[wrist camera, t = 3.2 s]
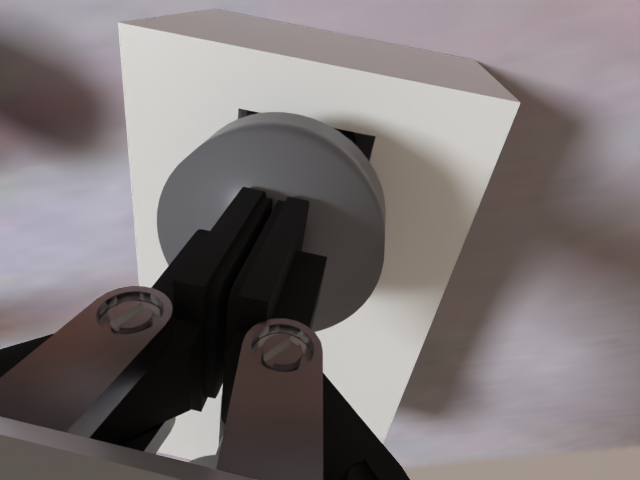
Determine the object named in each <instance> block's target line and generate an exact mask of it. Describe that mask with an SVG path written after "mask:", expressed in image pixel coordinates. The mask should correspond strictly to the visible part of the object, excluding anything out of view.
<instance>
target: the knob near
mask: <svg viewBox="0 0 640 480" xmlns="http://www.w3.org/2000/svg"><path fill="white" fill-rule="evenodd" d="M242 187H247V188H252V189H257V190H261V191H265V193H266V197H267V198H271V199H272V211H273V209H274V207H275V205H276V203H277V201H278V200H281V201H285V200H286V198H287V197H288V196H289V197H294V198H298V199H303V200H308V201H309V210H308V216H307V222H306V228H305V234H304V240H303V246H302V251H303V252H308V253H313V254H317V255H322V256H326V257H327V262H326V267H325V272H324V277H323V282H322V286H321V291H320V296H319V300H318V305H317V309H316V313H315V317H314V322H313V326H312V331H314V332H317V331H321V330H324V329H326V328H329V327H332V326H334V325H336V324H338V323H340V322H342V321H344V320H345V319H347V318H348V317H350V316H351V315H353V314H354V313H355V312H356V311H357V310H358V309H359V308H360V307H362V306H363V305H364V303H365V302H366V301H367V300H368V298H369V297H370V296H371V294H372V292H373V291H374V289H375V287H376V285H377V283H378V281H379V278H380V275H381V272H382V268H383V263H384V250H385V220H386V208H385V198H384V194H383V190H382V186H381V184H380V181H379V179H378V176H377V174H376V172H375V170H374V169H373V167H372V165H371V163H370V162H369V160H368V159H367V158H366V157H365V155H364V154H363V153H362V151H361V150H360V149H359V148H358V146H357V140H356V137H355V134H354V132H351V131H347V130H342V129H337V128H332V127H330V126H329V125H327V124H325V123H323V122H320V121H318V120H315V119H313V118H310V117H306V116H303V115H299V114H293V113H286V112H265V113H258V114H253V115H249V116H246V117H242V118H240V119H237V120H235V121H233V122H231V123H229V124H227V125H226V126H224V127H223V128H221V129H219V130H218V131H217V132H216V133H214V134H213V135H212V136H211V137H210V138H209V139H207V140H206V141H205V142H204V143H203V144H201V145H200V146H199V147H198V148H197V149H195V150H194V151H193V152H192V153H191V154H189V155H188V156H187V157H186V158H185V159H184V160H183V161H182V162H181V163H179V164H178V166H177V167H176V168H175V169H174V171H173V172H172V173H171V174H170V176H169V178H168V180H167V181H166V183H165V185H164V187H163V190H162V193H161V195H160V198H159V203H158V209H157V231H158V238H159V242H160V246H161V249H162V252H163V254H164V257H165V259H166V262H167V263H168V265H170V264H171V262H172V261H173V260H174V259H175V257H176V256H177V255H178V253H179V252H180V251H181V250H182V248H183V247H184V246H185V245H186V243H187V242H188V241H189V240H190V238H191V237H192V236H193V235H194V233H195V232H196V231H197V230H198V229H203V230H208V231H210V230H211V229H212V228H213V226H214V225H215V224H216V222H217V221H218V219H219V218H220V217H221V215H222V214H223V213H224V211H225V210H226V209H227V207H228V206H229V205H230V203H231V202H232V201H233V199H234V198H235V197H236V195H237V194H238V192H239V191H240V190H241V188H242Z"/></svg>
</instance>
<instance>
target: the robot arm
mask: <svg viewBox="0 0 640 480" xmlns="http://www.w3.org/2000/svg"><path fill="white" fill-rule="evenodd" d="M308 210H309V201H308V200H303V199H298V198H294V197H289V196H288V197H287V198H286V200H285V201H281V200H278V201H277V203H276V205H275V207H274V209H273V211H272V199H271V198H267V197H266V193H265V191H261V190H257V189H252V188H247V187H242V188H241V190H240V191H239V192H238V194H237V195H236V197H235V198H234V199H233V201H232V202H231V203H230V205H229V206H228V207H227V209H226V210H225V211H224V213H223V214H222V215H221V217H220V218H219V219H218V221H217V222H216V224H215V225H214V226H213V228H212V229H211V230H210V231H208V230H203V229H198V230H197V231H196V232H195V233H194V235H193V236H192V237H191V238H190V240H189V241H188V242H187V243H186V245H185V246H184V247H183V248H182V250H181V251H180V252H179V253H178V255H177V256H176V257H175V259H174V260H173V261H172V262H171V264H170V265H169V266H168V267H167V269H166V270H165V271H164V272H163V274H162V275H161V276H160V277H159V279H158V280H157V281H156V282H155V284H154V285H153V286H152V288H149V287H144V286H130V287H124V288H119V289H116V290H113V291H110V292H108V293H106V294H104V295H103V296H101V297H99V298H98V299H96V300H95V301H94V302H93V303H92V304H90V305H89V306H88V307H87V308H85V309H84V310H83V311H82V312H80V313H79V314H78V315H77V316H76V317H74V318H73V319H72V320H71V321H69V322H68V323H67V324H66V325H65V326H63V327H62V328H61V329H60V330H58V331H57V332H56V333H55V334H51V335H48V336H44V337H41V338H38V339H34V340H31V341H27V342H24V343H20V344H17V345H14V346H10V347H7V348H3V349H0V480H410V479H409V478H408V476H407V474H406V473H405V471H404V470H403V468H402V467H401V465H400V464H399V463H398V462H397V461H396V459H395V458H394V457H393V456H392V455H391V453H390V452H389V451H388V450H387V449H386V447H385V446H384V445H383V444H382V443H381V441H380V440H379V439H378V438H377V437H376V435H375V434H374V433H373V432H372V431H371V429H370V428H369V427H368V426H367V425H366V423H365V422H364V421H363V420H362V419H361V417H360V416H359V415H358V414H357V413H356V411H355V410H354V409H353V408H352V407H351V405H350V404H349V403H348V402H347V401H346V399H345V398H344V397H343V396H342V395H341V393H340V392H339V391H338V390H337V389H336V387H335V386H334V385H333V384H332V383H331V381H330V380H329V379H328V378H327V377H326V375H325V374H324V373H323V350H322V345H321V341H320V339H319V338H318V336H317V335H316V333H315V332H314V331H312V326H313V322H314V317H315V313H316V309H317V305H318V300H319V296H320V291H321V286H322V282H323V277H324V272H325V267H326V262H327V257H326V256H322V255H317V254H313V253H308V252H303V251H302V246H303V240H304V234H305V228H306V222H307V216H308ZM222 384H223V388H222V405H221V419H222V421H223V423H224V424H225V429H224V433H223V438H222V443H221V448H220V452H219V457H218V462H217V467H216V469H212V468H208V467H204V466H200V465H196V464H192V463H188V462H184V461H180V460H176V459H172V458H168V457H164V456H159V455H155V454H156V452H157V451H158V450H159V448H160V447H161V445H162V444H163V442H164V441H165V439H166V438H167V436H168V435H169V434H170V432H171V430H172V428H173V426H174V424H175V419H176V416H179V415H181V414H183V413H185V412H187V411H190V409H191V410H195V411H199V412H201V411H202V409H203V407H204V405H205V403H206V400H207V398H208V397H209V398H214V399H215V398H216V397H217V395H218V393H219V391H220V388H221V386H222Z"/></svg>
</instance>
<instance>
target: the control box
mask: <svg viewBox="0 0 640 480" xmlns="http://www.w3.org/2000/svg"><path fill="white" fill-rule="evenodd" d="M118 29H119V41H120V54H121V66H122V79H123V91H124V103H125V116H126V128H127V141H128V153H129V166H130V178H131V190H132V203H133V215H134V228H135V240H136V253H137V265H138V277H139V286H144V287H149V288H152V286H153V285H154V284H155V282H156V281H157V280H158V279H159V277H160V276H161V275H162V274H163V272H164V271H165V270H166V269H167V267H168V266H169V265H168V263H167V262H166V259H165V257H164V254H163V252H162V249H161V246H160V242H159V238H158V231H157V209H158V203H159V198H160V195H161V193H162V190H163V187H164V185H165V183H166V181H167V180H168V178H169V176H170V174H171V173H172V172H173V171H174V169H175V168H176V167H177V166H178V164H179V163H181V162H182V161H183V160H184V159H185V158H186V157H187V156H188V155H189V154H191V153H192V152H193V151H194V150H195V149H197V148H198V147H199V146H200V145H201V144H203V143H204V142H205V141H206V140H207V139H209V138H210V137H211V136H212V135H213V134H214V133H216V132H217V131H218V130H219V129H221V128H223V127H224V126H226V125H227V124H229V123H231V122H233V121H235V120H237V119H240V118H242V117H246V116H249V115H253V114H258V113H265V112H286V113H293V114H299V115H303V116H306V117H310V118H313V119H315V120H318V121H320V122H323V123H325V124H327V125H329V126H330V127H332V128H337V129H342V130H347V131H351V132H354V134H355V137H356V140H357V146H358V148H359V149H360V150H361V151H362V153H363V154H364V155H365V157H366V158H367V159H368V160H369V162H370V163H371V165H372V167H373V169H374V170H375V172H376V174H377V176H378V179H379V181H380V184H381V186H382V190H383V194H384V198H385V208H386V220H385V250H384V263H383V268H382V272H381V275H380V278H379V281H378V283H377V285H376V287H375V289H374V291H373V292H372V294H371V296H370V297H369V298H368V300H367V301H366V302H365V303H364V305H363V306H362V307H360V308H359V309H358V310H357V311H356V312H355V313H354V314H353V315H351V316H350V317H348V318H347V319H345V320H344V321H342V322H340V323H338V324H336V325H334V326H332V327H329V328H326V329H324V330H321V331H317V332H315V333H316V335H317V336H318V338H319V339H320V341H321V345H322V350H323V373H324V374H325V375H326V377H327V378H328V379H329V380H330V381H331V383H332V384H333V385H334V386H335V387H336V389H337V390H338V391H339V392H340V393H341V395H342V396H343V397H344V398H345V399H346V401H347V402H348V403H349V404H350V405H351V407H352V408H353V409H354V410H355V411H356V413H357V414H358V415H359V416H360V417H361V419H362V420H363V421H364V422H365V423H366V425H367V426H368V427H369V428H370V429H371V431H372V432H373V433H374V434H375V435H376V437H377V438H378V439H379V440H380V441H381V443H382V444H383V442H384V440H385V438H386V435H387V433H388V430H389V428H390V425H391V423H392V420H393V418H394V415H395V413H396V410H397V408H398V405H399V403H400V400H401V398H402V395H403V393H404V390H405V388H406V386H407V383H408V381H409V378H410V376H411V373H412V371H413V368H414V366H415V363H416V361H417V358H418V356H419V353H420V351H421V348H422V346H423V343H424V341H425V338H426V336H427V333H428V331H429V329H430V326H431V324H432V321H433V319H434V316H435V314H436V311H437V309H438V306H439V304H440V301H441V299H442V296H443V294H444V291H445V289H446V286H447V284H448V281H449V279H450V277H451V274H452V272H453V269H454V267H455V264H456V262H457V259H458V257H459V254H460V252H461V249H462V247H463V244H464V242H465V239H466V237H467V234H468V232H469V229H470V227H471V224H472V222H473V220H474V217H475V215H476V212H477V210H478V207H479V205H480V202H481V200H482V197H483V195H484V192H485V190H486V187H487V185H488V182H489V180H490V177H491V175H492V172H493V170H494V168H495V165H496V163H497V160H498V158H499V155H500V153H501V150H502V148H503V145H504V143H505V140H506V138H507V135H508V133H509V130H510V128H511V125H512V123H513V120H514V118H515V116H516V113H517V111H518V108H519V106H520V103H521V102H520V101H518V100H517V99H516V98H515V97H514V96H513V95H512V94H511V93H510V92H509V91H508V90H507V89H506V88H505V87H503V86H502V85H501V84H500V83H499V82H498V81H497V80H496V79H495V78H494V77H493V76H492V75H491V74H490V73H488V72H487V71H486V70H485V69H484V68H483V67H482V66H481V65H480V64H479V63H478V62H477V61H476V60H472V59H467V58H462V57H457V56H452V55H447V54H442V53H437V52H432V51H426V50H421V49H416V48H411V47H406V46H401V45H396V44H391V43H386V42H381V41H375V40H370V39H365V38H360V37H355V36H350V35H345V34H340V33H335V32H330V31H324V30H319V29H314V28H309V27H304V26H299V25H294V24H289V23H284V22H279V21H274V20H268V19H263V18H258V17H253V16H248V15H243V14H238V13H233V12H228V11H223V10H217V9H208V10H201V11H194V12H187V13H180V14H173V15H166V16H159V17H152V18H145V19H138V20H131V21H124V22H118ZM222 388H223V384H222V386H221V388H220V391H219V393H218V395H217V397H216V398H215V399H214V398H209V397H208V398H207V400H206V403H205V405H204V407H203V409H202V411H201V412H199V411H195V410H191V409H190V411H187V412H185V413H183V414H181V415H179V416H176V419H175V424H174V426H173V428H172V430H171V432H170V434H169V435H168V436H167V438H166V439H165V441H164V442H163V444H162V445H161V447H160V448H159V450H158V451H157V452H161V453H165V454H169V455H173V456H178V457H182V458H186V459H190V460H194V459H197V458H200V457H203V456H209V455H216V452H217V449H218V447H219V444H220V441H221V439H222V436H223V433H224V429H225V424H224V423H223V421H222V419H221V405H222Z"/></svg>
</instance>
